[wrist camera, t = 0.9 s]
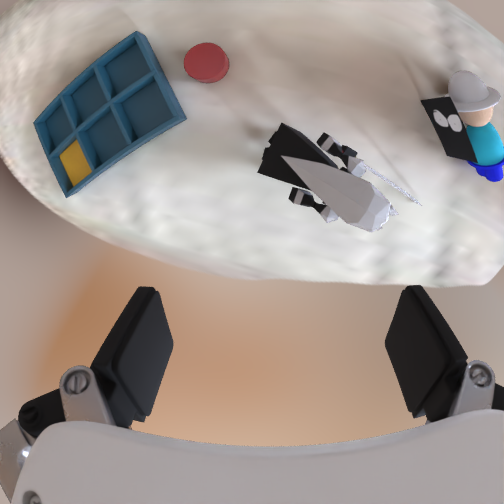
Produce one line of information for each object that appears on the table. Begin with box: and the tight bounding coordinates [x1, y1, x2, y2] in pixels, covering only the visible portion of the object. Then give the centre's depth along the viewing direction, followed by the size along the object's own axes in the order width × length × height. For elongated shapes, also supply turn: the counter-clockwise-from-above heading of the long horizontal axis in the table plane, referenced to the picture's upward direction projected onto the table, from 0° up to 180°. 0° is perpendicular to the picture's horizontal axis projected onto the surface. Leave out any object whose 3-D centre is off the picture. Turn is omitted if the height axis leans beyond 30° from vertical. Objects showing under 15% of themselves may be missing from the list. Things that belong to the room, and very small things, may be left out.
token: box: [184, 43, 229, 83], centre depth 24 cm, size 5×5×3 cm
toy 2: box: [421, 71, 504, 182], centre depth 22 cm, size 9×11×15 cm
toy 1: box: [257, 123, 422, 232], centre depth 29 cm, size 8×20×15 cm
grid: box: [33, 31, 187, 198], centre depth 27 cm, size 14×20×3 cm
